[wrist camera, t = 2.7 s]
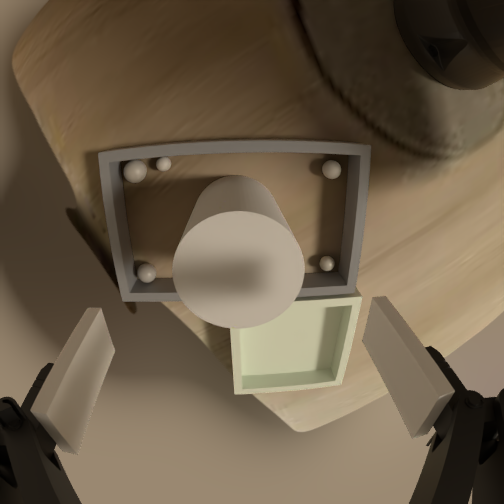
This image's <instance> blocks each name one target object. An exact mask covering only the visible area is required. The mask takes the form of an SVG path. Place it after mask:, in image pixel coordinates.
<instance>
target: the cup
mask: <svg viewBox="0 0 504 504" xmlns="http://www.w3.org/2000/svg"><path fill="white" fill-rule="evenodd" d="M304 270H305V267H304V259H303V255H302V252H301V249H300V247H299V245H298V243H297V241H296V239H295V237H294V235H293V233H292V231H291V229H290V227H289V226H288V224H287V222H286V220H285V218H284V216H283V214H282V212H281V211H280V209H279V207H278V205H277V203H276V201H275V199H274V198H273V196H272V194H271V193H270V191H269V190H268V189H267V188H266V187H265V186H264V185H263V184H261V183H260V182H258V181H257V180H255V179H252V178H249V177H246V176H239V175H233V176H226V177H223V178H220V179H218V180H216V181H214V182H212V183H211V184H210V185H208V186H207V187H206V188H205V189H204V190H203V191H202V193H201V194H200V196H199V198H198V200H197V202H196V204H195V207H194V209H193V211H192V214H191V216H190V218H189V221H188V223H187V225H186V228H185V230H184V233H183V235H182V237H181V240H180V242H179V245H178V247H177V250H176V253H175V255H174V259H173V267H172V274H173V281H174V285H175V288H176V291H177V293H178V295H179V297H180V299H181V300H182V302H183V303H184V304H185V305H186V307H187V308H188V309H189V310H190V311H191V312H193V313H194V314H195V315H196V316H198V317H199V318H201V319H203V320H204V321H207V322H209V323H211V324H214V325H217V326H221V327H225V328H236V329H240V328H250V327H255V326H259V325H262V324H265V323H267V322H269V321H271V320H273V319H275V318H276V317H278V316H279V315H281V314H282V313H283V312H284V311H286V310H287V309H288V308H289V307H290V305H291V304H292V303H293V302H294V300H295V299H296V297H297V296H298V294H299V292H300V289H301V287H302V284H303V279H304Z"/></svg>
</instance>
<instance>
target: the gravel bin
mask: <svg viewBox="0 0 504 504" xmlns="http://www.w3.org/2000/svg"><path fill="white" fill-rule="evenodd" d="M245 152H294V153H326V154H345V155H349V157H348V176H347V191H346V204H345V215H344V226H343V236H342V245H341V254H340V262H339V270H338V272H328V273H308V274H304V279H303V284H302V287H301V289H300V292H299V294H298V296H297V297H307V296H323V295H337V294H351V293H355V288H356V282H357V276H358V269H359V263H360V256H361V249H362V242H363V234H364V226H365V217H366V208H367V198H368V186H369V174H370V159H371V145H367V144H362V143H356V142H343V141H327V140H305V139H223V140H201V141H185V142H172V143H161V144H150V145H141V146H132V147H124V148H116V149H110V150H106V151H102V152H99V153H98V158H99V168H100V178H101V187H102V195H103V202H104V209H105V216H106V222H107V228H108V234H109V240H110V245H111V250H112V256H113V261H114V265H115V270H116V275H117V279H118V284H119V288H120V292H121V296H122V300H123V301H182V300H181V299H180V297H179V295H178V293H177V291H176V288H175V285H174V281H173V278H155V277H156V269H155V267H154V266H153V265H151V264H149V263H145V264H142V265H141V266H140V267H139V269H138V277H139V279H137V276H136V270H135V265H134V259H133V254H132V248H131V242H130V235H129V229H128V222H127V215H126V207H125V199H124V190H123V181H122V171H121V161H125V160H131V161H129V162H128V163H127V164H126V165H125V167H124V176H125V178H126V179H127V180H128V181H129V182H131V183H138V182H141V181H142V180H143V179H144V178H145V176H146V173H147V168H146V165H145V164H144V163H143V162H142V161H140V160H134V159H143V158H154V157H160V158H159V159H158V160H157V162H156V167H157V169H158V170H160V171H167V170H169V168H170V167H171V161H170V159H169V158H168V157H165V156H178V155H194V154H213V153H245ZM322 172H323V174H324V175H325V176H326V177H327V178H329V179H335V178H337V177H338V176H339V175H340V173H341V166H340V165H339V163H338V162H336V161H334V160H329V161H326V162H325V163H324V164H323V167H322ZM334 265H335V262H334V259H333V258H332V257H330V256H324V257H322V258H321V260H320V267H321V269H322V270H324V271H330V270H332V269H333V268H334Z"/></svg>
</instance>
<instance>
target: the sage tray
mask: <svg viewBox="0 0 504 504" xmlns="http://www.w3.org/2000/svg"><path fill="white" fill-rule="evenodd" d="M361 301H362V295H361V294H360V292H359V291H358V289H357V288H355V293H351V294H337V295H323V296H307V297H296V299H295V300H294V302H293V303H292V304H291V305H290V307H289V308H288V309H287V310H286V311H284V312H283V313H282V314H281V315H279V316H278V317H276V318H275V319H273V320H271V321H269V322H267V323H265V324H262V325H259V326H255V327H250V328H240V329H236V328H230V335H231V350H232V364H233V378H234V391H235V394H253V393H270V392H283V391H294V390H304V389H313V388H321V387H329V386H336V385H341V384H342V380H343V377H344V373H345V369H346V366H347V362H348V358H349V354H350V350H351V346H352V342H353V338H354V333H355V329H356V324H357V320H358V315H359V310H360V306H361Z"/></svg>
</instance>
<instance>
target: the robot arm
mask: <svg viewBox="0 0 504 504" xmlns="http://www.w3.org/2000/svg"><path fill="white" fill-rule="evenodd" d="M394 11H395V17H396V21H397V25H398V28H399V30H400V33H401V35H402V37H403V39H404V41H405V43H406V45H407V47H408V48H409V50H410V52H411V53H412V55H413V56H414V57H415V59H416V60H417V61H418V62H419V64H420V65H421V66H422V67H423V68H424V69H425V70H426V71H427V72H428V73H429V74H430V75H431V76H433V77H434V78H435V79H436V80H438V81H439V82H441V83H443V84H444V85H446V86H449V87H451V88H454V89H459V90H478V89H482V88H485V87H487V86H489V85H491V84H493V83H495V82H497V81H499V80H500V79H502V78H504V0H394ZM362 341H363V343H364V345H365V347H366V349H367V350H368V352H369V354H370V356H371V358H372V360H373V362H374V364H375V366H376V367H377V369H378V371H379V373H380V375H381V377H382V379H383V381H384V383H385V385H386V387H387V389H388V391H389V393H390V395H391V397H392V398H393V400H394V402H395V404H396V406H397V408H398V411H399V413H400V415H401V417H402V419H403V420H404V422H405V425H406V427H407V429H408V431H409V433H410V435H411V437H412V439H414V438H417V437H420V436H423V435H425V434H427V433H428V432H429V431H430V429H431V428H432V426H434V428H435V430H436V432H435V434H434V435H433V436H432V438H431V439H430V440H429V442H428V443H427V445H426V446H429V445H430V443H431V446H430V449H429V452H428V455H427V458H426V461H425V464H424V467H423V469H422V472H421V475H420V478H419V480H418V483H417V485H416V488H415V490H414V493H413V495H412V498H411V500H410V502H409V504H468V501H469V498H470V494H471V490H472V504H504V389H502V390H501V391H500V393H499V394H498V396H497V397H489V398H483V396H482V395H480V394H479V393H478V392H475V391H471V390H468V391H467V389H466V388H465V387H464V385H463V384H462V382H461V381H460V380H459V378H458V377H457V375H456V374H455V373H454V371H453V370H452V369H451V368H450V366H449V364H448V363H447V362H446V361H445V359H444V357H443V356H442V355H441V353H440V352H438V351H437V350H436V349H434V348H433V347H432V346H429V347H424V346H423V344H422V343H421V342H420V340H419V339H418V338H417V336H416V335H415V334H414V332H413V331H412V330H411V328H410V327H409V326H408V324H407V323H406V322H405V320H404V319H403V318H402V316H401V315H400V314H399V313H398V311H397V310H396V309H395V307H394V306H393V305H392V304H391V302H390V301H389V300H388V298H387V297H386V296H382V297H372V302H371V306H370V311H369V315H368V319H367V324H366V328H365V332H364V336H363V340H362ZM114 352H115V349H114V346H113V344H112V341H111V338H110V335H109V332H108V329H107V325H106V322H105V319H104V316H103V313H102V309H101V308H87V310H86V311H85V313H84V315H83V316H82V318H81V320H80V321H79V323H78V325H77V326H76V328H75V329H74V331H73V333H72V334H71V336H70V338H69V339H68V341H67V343H66V344H65V346H64V348H63V349H62V351H61V353H60V355H59V356H58V358H57V360H56V362H55V364H53V363H48V364H47V365H46V366H45V367H44V368H42V369H41V371H40V372H39V374H38V376H37V378H36V380H35V381H34V383H33V385H32V386H33V387H31V389H30V390H29V393H28V394H27V396H26V398H25V400H24V402H23V404H22V406H21V408H20V407H19V405H18V404H17V402H16V401H15V400H14V399H13V398H11V397H3V398H1V399H0V504H82V503H81V502H80V500H79V498H78V496H77V494H76V493H75V491H74V489H73V487H72V485H71V483H70V481H69V479H68V477H67V475H66V473H65V471H64V469H63V466H62V464H61V462H60V460H59V457H58V455H57V453H56V452H55V450H54V449H55V446H56V444H57V445H58V446H59V448H60V449H61V450H62V451H64V452H68V453H72V454H76V455H78V453H79V450H80V447H81V444H82V440H83V437H84V434H85V431H86V428H87V425H88V422H89V419H90V416H91V413H92V410H93V408H94V405H95V402H96V399H97V396H98V393H99V391H100V388H101V386H102V383H103V380H104V378H105V375H106V373H107V370H108V367H109V365H110V362H111V360H112V357H113V355H114ZM472 487H473V489H472Z"/></svg>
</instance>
